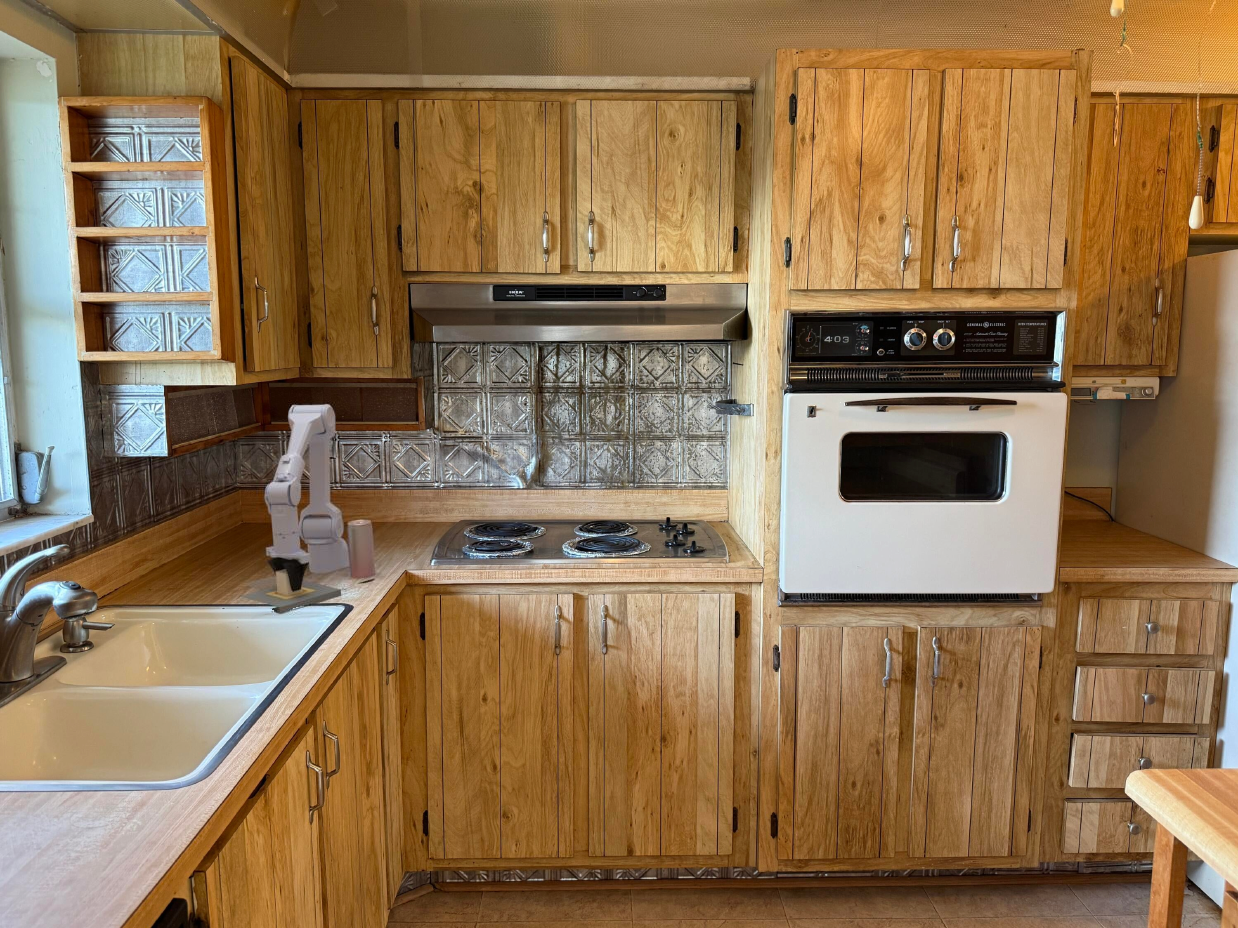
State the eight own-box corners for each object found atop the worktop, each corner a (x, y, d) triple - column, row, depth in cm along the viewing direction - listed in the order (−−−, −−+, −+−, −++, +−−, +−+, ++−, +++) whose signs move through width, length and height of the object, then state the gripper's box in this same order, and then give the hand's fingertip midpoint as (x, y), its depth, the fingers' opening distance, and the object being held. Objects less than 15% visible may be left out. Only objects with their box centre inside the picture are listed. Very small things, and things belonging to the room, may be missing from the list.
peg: (292, 592, 206) (290, 567, 205) (303, 594, 204) (300, 569, 203) (277, 596, 203) (275, 571, 202) (287, 599, 201) (285, 573, 200)
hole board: (301, 585, 215) (300, 578, 215) (341, 595, 206) (340, 588, 205) (240, 602, 202) (240, 595, 202) (280, 613, 193) (280, 606, 193)
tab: (272, 581, 219) (272, 576, 218) (291, 586, 214) (291, 580, 214) (243, 589, 212) (242, 583, 212) (261, 594, 207) (261, 588, 207)
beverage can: (346, 580, 218) (342, 522, 216) (368, 575, 222) (364, 518, 220) (358, 585, 214) (354, 525, 211) (380, 580, 218) (376, 521, 216)
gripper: (252, 532, 202) (257, 588, 205) (288, 539, 194) (293, 598, 196) (279, 526, 208) (284, 581, 210) (316, 533, 200) (320, 590, 202)
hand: (290, 588), depth 203 cm, fingers closed on peg, 4 cm apart
